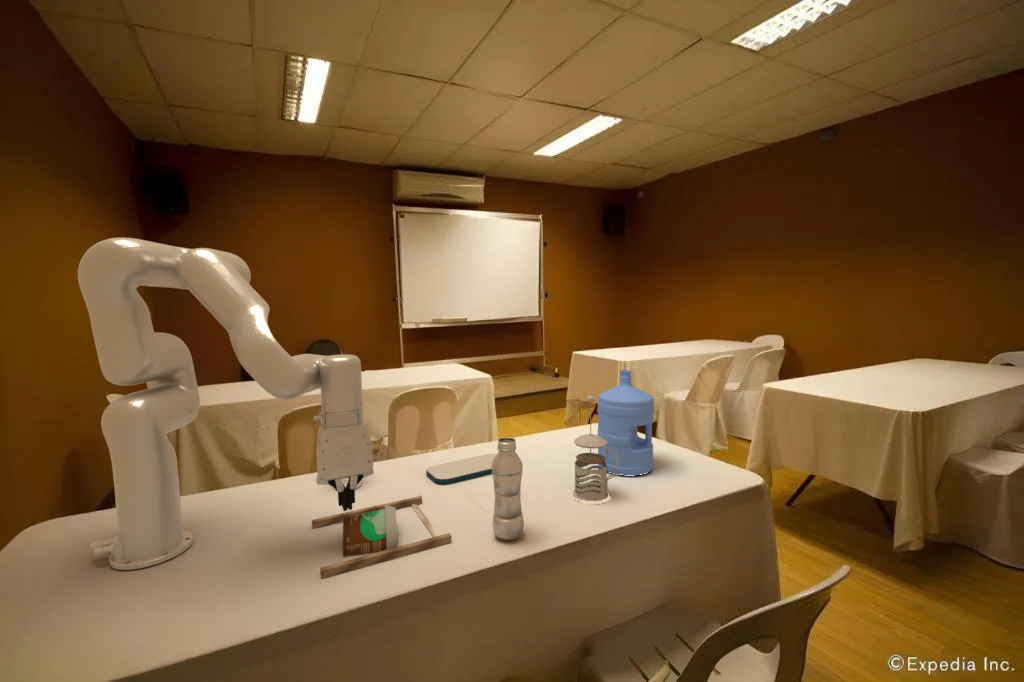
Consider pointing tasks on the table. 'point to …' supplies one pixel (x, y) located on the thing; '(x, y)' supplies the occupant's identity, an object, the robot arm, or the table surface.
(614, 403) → the water jug
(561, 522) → the table surface
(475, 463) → the external hard drive
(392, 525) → the food container
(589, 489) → the french press
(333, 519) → the wooden frame
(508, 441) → the plastic bottle
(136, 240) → the robot arm
